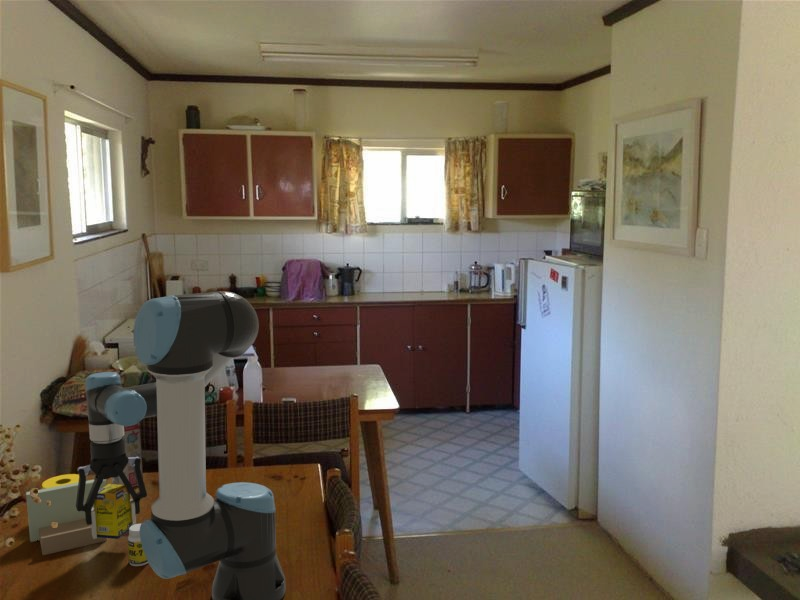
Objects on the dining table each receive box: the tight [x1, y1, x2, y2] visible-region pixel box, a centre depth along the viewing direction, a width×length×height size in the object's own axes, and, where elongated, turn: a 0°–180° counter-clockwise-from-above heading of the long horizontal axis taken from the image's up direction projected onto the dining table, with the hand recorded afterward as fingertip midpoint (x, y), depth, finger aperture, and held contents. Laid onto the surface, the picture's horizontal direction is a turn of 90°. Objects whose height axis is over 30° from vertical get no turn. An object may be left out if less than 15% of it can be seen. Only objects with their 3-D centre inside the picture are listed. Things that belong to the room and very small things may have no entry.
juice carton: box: [112, 422, 144, 488], centre depth 205 cm, size 7×7×22 cm
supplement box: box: [94, 483, 132, 540], centre depth 166 cm, size 6×6×11 cm
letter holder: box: [25, 479, 108, 556], centre depth 172 cm, size 11×18×12 cm, turn 121°
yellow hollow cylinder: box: [41, 473, 79, 489], centre depth 185 cm, size 10×10×9 cm
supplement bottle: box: [127, 522, 149, 567], centre depth 161 cm, size 5×5×8 cm
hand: (114, 531), depth 167 cm, fingers closed on supplement box, 8 cm apart
